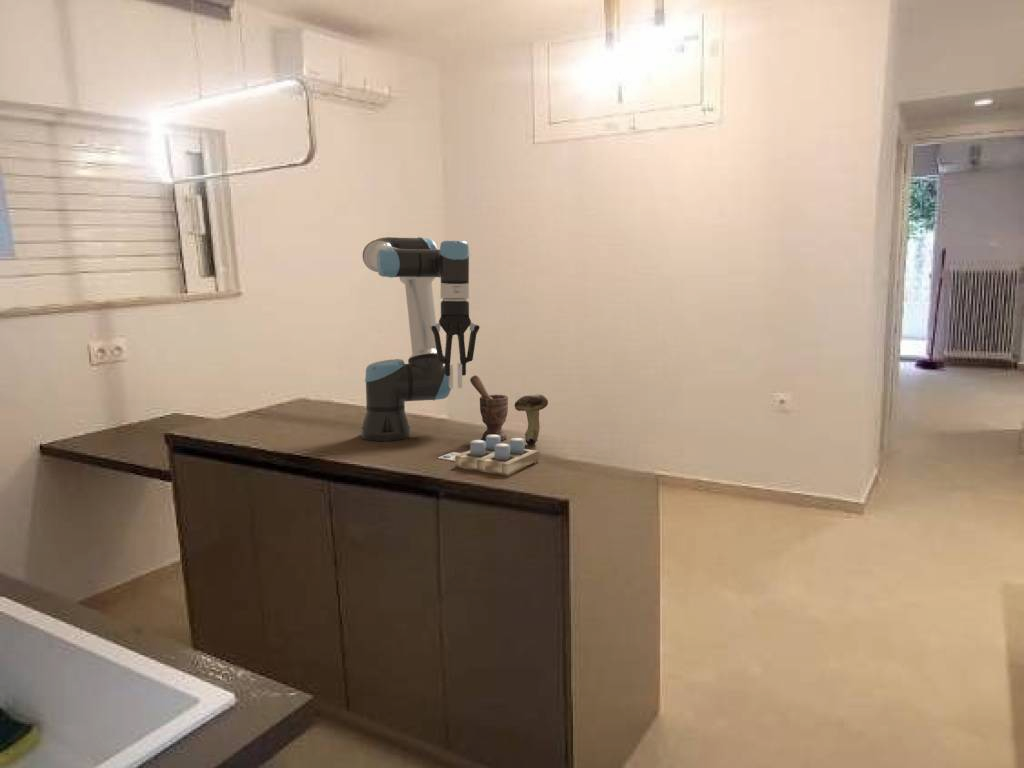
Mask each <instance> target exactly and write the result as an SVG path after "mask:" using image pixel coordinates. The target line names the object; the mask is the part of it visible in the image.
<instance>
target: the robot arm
mask: <svg viewBox="0 0 1024 768" xmlns="http://www.w3.org/2000/svg"><path fill="white" fill-rule="evenodd" d="M439 246H440V247H439V249H438V247H437V244H436V242H435V241H434V240H433V239H431V238H424V237H420V236H419V237H392V236H391V237H388V236H387V237H380V238H377V239H374V240H372V241H370V242H369V243H367V244H366V245H365V247H364V249H363V251H362V261H363V263H364V265H365V267H366V268H368V270H371V271H372V272H375V273H378V275H379V276H380V277H382V278H385V277H386V278H399V281H400V282H401V283H403V284H404V285H405V286H404V288H405V295H406V296H405V297H406V305H407V316H408V325H409V334H410V344H411V355H410V356H409V357H408V359H407V362H408V363H405V362H404V360H403V359H399V358H396V359H395V358H394V359H384V360H379V361H375V362H373V363H371V364H369V365H367V366H366V368H365V379H364V382H365V398H366V399H365V402H366V403H365V406H366V412H365V415H364V419H363V423H362V427H361V429H360V435H361V438H362V439H364V440H366V441H367V440H368V441H373V442H375V441H376V442H377V441H378V442H386V441H388V442H390V441H399V440H403V439H404V440H405V439H407V438H409V437H410V436H411V435H412V433H411V432H412V431H411V430H412V428H411V426H410V425H409V420H408V418H407V414H406V411H405V410H406V409H405V406H406V405H405V403H406V402H418V401H419V402H420V401H437V400H443V399H446V398H448V397H449V395H450V393H451V391H452V389H453V390H454V364H453V363H451V358H452V345H453V337H454V336H455V335H456V336H457V339H458V340H457V341H458V342H457V343H458V350H459V351H458V353H459V361H460V362H457V388H458V389H463V376H466V374H467V363H470V362H472V361H473V360H474V352H475V346H476V340H477V334H478V332H479V330H480V328H481V327H480V325H479V324H475V323H473V322H472V320H471V319H470V302H469V301H468V299H470V287H469V286H470V252H469V251H470V249H469V243H468V242H467V241H465V240H442V241H441V242H440V245H439ZM436 278H440V299H441V302H440V317H439V320H438V322H437V318H436V311H435V309H436V308H435V301H434V292H433V281H434V280H435V279H436ZM441 328H442V330H443V331H444V332H445V334H446V335H445V346H444V347H445V349H444V354H443V348H442V341H441V336H440V333H439V332H441ZM468 328H469V331H470V334H469V339H468V347H467V353H466V346H465V343H466V342H465V332H466V331H467V330H468Z"/></svg>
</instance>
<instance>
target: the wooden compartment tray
mask: <svg viewBox="0 0 1024 768" xmlns="http://www.w3.org/2000/svg"><path fill="white" fill-rule="evenodd" d="M461 453H462V454H459V455H456V456H455V461H454V462H455V463H454V464H455V465H454V466H455V468H458V469H465V470H471V471H476V472H483V473H488V474H494V475H501V476H504V477H506V476H507V477H509V476H510V475H513V474H515V473H517V471H518V472H520V471H522V470H524V469H526V468H528V467H527V466H529V465H531V464H533V463H535V462H537V461H540V459H539V458H540V456H539V455H540V451H539V450H533V449H528V448H525V453H524V454H522V455H514V454H510V460H508V461H497V460H495V459H494V457H495V451H488V450H486V455H485V456H484V457H472V456H470V450H467V451H464V452H461ZM537 463H538V462H537ZM535 464H536V463H535ZM533 465H534V464H533ZM531 466H532V465H531ZM525 467H526V468H525ZM529 467H530V466H529ZM523 468H524V469H523ZM521 469H522V470H521ZM519 470H520V471H519Z"/></svg>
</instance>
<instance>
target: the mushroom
mask: <svg viewBox="0 0 1024 768" xmlns="http://www.w3.org/2000/svg"><path fill="white" fill-rule="evenodd" d="M548 404H549V400H548V398H547V397H546V396H544V395H542V394H539V393H538V394H528V395H523V396H522V397H520V398H519V399H517V400H516V401H515V403H514V409H515V410H517V411H518V412H525V413H526V418H527V423H528V424H527V429H526V431H525V433H524V438H525V442H526V444H527V445H528V446H535V445H536V443H537V442H539V440H538V438H539V433H540V430H541V428H540V427H541V426H540V411H541V410H543V409H545V408H546V407H547V406H548Z"/></svg>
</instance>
